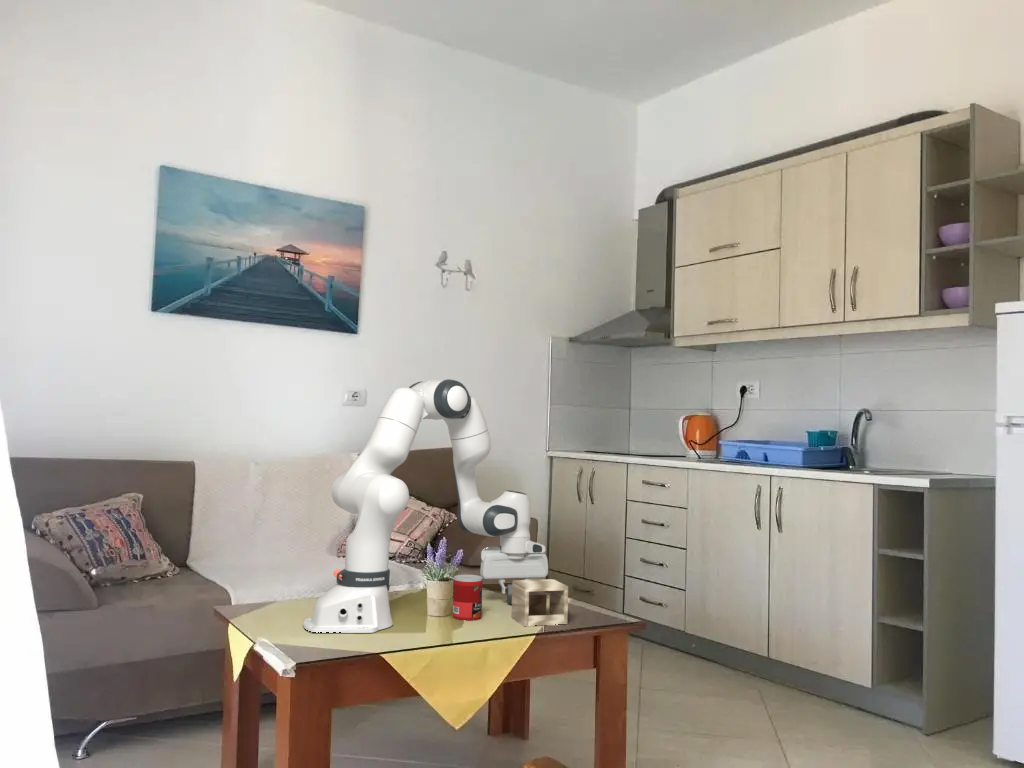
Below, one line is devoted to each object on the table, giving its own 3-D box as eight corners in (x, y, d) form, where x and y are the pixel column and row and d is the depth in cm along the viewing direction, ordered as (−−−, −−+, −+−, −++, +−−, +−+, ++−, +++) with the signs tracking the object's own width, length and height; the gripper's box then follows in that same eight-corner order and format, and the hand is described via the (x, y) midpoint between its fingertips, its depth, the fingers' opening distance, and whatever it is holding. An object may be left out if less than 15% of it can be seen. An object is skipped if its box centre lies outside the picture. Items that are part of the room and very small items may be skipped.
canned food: (477, 622, 226) (479, 580, 227) (448, 619, 228) (450, 578, 229) (484, 616, 234) (485, 575, 234) (456, 614, 235) (457, 573, 236)
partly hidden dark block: (525, 617, 233) (526, 595, 233) (501, 601, 251) (502, 580, 251) (545, 616, 235) (546, 594, 235) (520, 600, 253) (521, 579, 253)
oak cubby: (524, 626, 222) (525, 587, 223) (511, 617, 233) (512, 580, 233) (567, 624, 226) (568, 586, 227) (552, 615, 236) (553, 579, 237)
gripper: (483, 548, 245) (482, 596, 245) (550, 546, 251) (549, 594, 251) (478, 545, 251) (476, 592, 251) (543, 543, 257) (542, 590, 257)
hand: (513, 593), depth 251 cm, fingers closed on partly hidden dark block, 4 cm apart
